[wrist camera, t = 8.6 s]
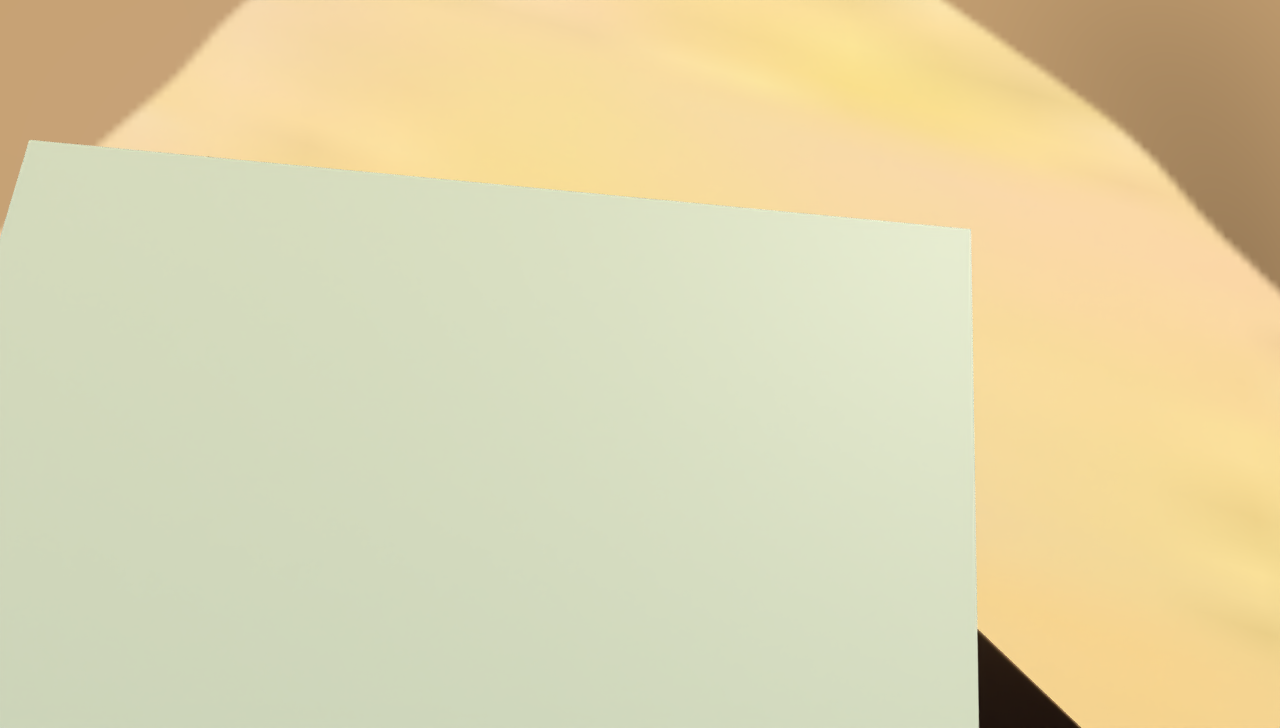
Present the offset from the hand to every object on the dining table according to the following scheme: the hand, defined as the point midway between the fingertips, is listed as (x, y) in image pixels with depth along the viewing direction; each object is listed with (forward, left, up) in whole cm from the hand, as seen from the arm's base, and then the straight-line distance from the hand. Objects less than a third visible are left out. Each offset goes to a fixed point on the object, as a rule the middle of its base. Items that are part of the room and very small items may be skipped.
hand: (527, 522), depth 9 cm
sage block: (0, +1, -7) cm, 7 cm away
